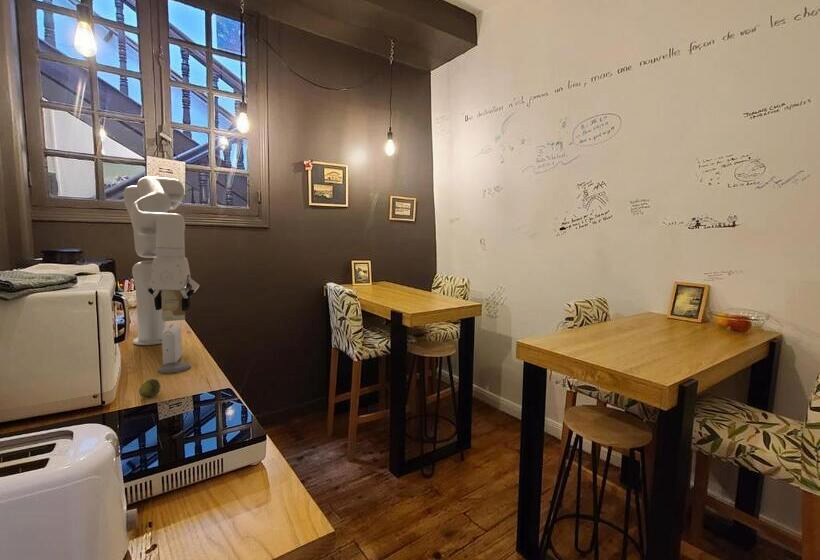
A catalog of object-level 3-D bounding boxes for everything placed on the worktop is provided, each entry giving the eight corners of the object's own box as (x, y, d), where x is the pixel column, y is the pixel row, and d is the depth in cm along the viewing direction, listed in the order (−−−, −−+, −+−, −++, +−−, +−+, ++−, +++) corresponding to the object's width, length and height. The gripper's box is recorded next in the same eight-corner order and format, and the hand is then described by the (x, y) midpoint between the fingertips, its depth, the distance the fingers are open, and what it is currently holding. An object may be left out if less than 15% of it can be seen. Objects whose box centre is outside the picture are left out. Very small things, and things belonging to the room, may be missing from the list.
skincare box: (162, 322, 123) (161, 282, 122) (161, 319, 127) (159, 281, 125) (186, 320, 127) (185, 281, 126) (184, 317, 131) (183, 280, 129)
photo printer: (176, 365, 132) (174, 328, 131) (161, 365, 131) (159, 328, 129) (183, 355, 142) (182, 321, 140) (169, 356, 141) (168, 321, 139)
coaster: (167, 364, 133) (167, 361, 133) (195, 364, 133) (195, 362, 133) (152, 373, 124) (151, 371, 124) (182, 374, 124) (182, 371, 124)
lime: (137, 401, 104) (136, 382, 104) (146, 393, 109) (145, 376, 108) (155, 400, 105) (155, 382, 104) (164, 393, 110) (163, 375, 109)
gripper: (134, 253, 120) (136, 311, 122) (194, 255, 121) (195, 312, 123) (148, 251, 127) (150, 306, 129) (205, 253, 128) (206, 308, 131)
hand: (172, 309), depth 126 cm, fingers closed on skincare box, 7 cm apart
